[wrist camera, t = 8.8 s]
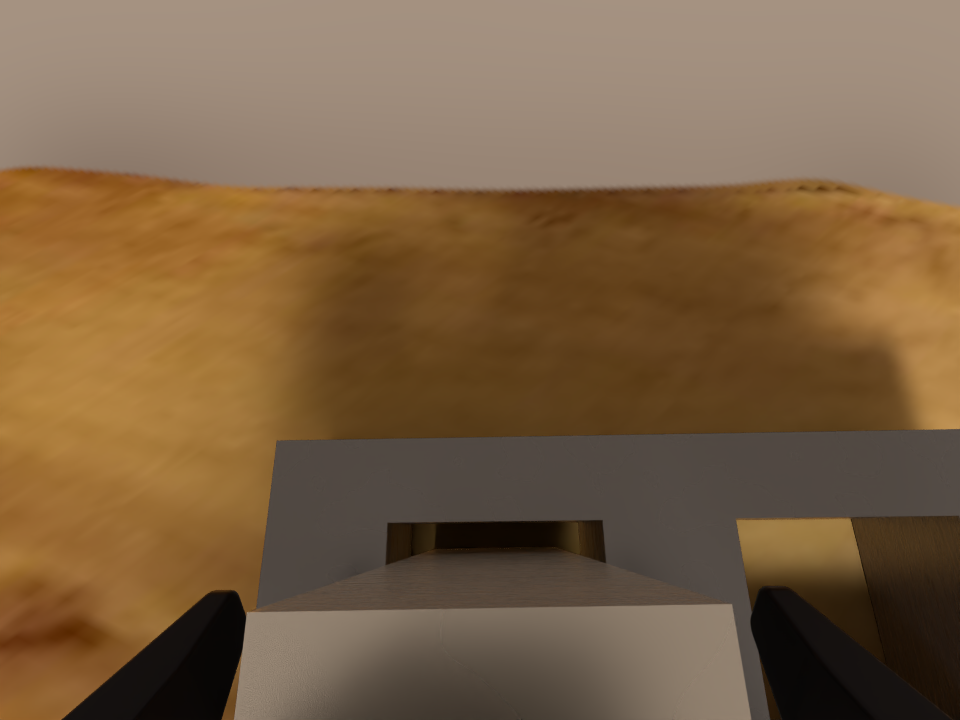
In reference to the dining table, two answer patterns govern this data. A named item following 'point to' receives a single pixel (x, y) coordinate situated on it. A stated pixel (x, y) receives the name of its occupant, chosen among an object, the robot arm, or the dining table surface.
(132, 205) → the dining table surface
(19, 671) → the dining table surface
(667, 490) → the grey flat block
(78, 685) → the dining table surface
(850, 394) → the dining table surface
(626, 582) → the peg
